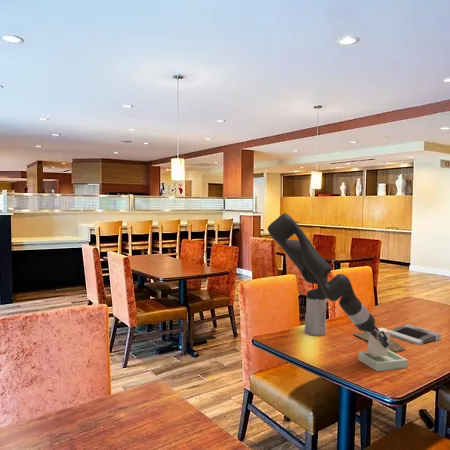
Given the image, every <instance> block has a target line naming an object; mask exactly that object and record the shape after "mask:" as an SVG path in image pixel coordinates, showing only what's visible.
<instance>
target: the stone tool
mask: <svg viewBox="0 0 450 450" xmlns="http://www.w3.org/2000/svg"><path fill="white" fill-rule="evenodd" d="M352 334H353V335H354V336H356V337H357V338H360V339H363V340H364V341H367V342H368V341H369V335H367V334H366V333H365V332H362V333H361V332H353V333H352ZM388 350H390V351H392V352H394V353H399V352H402V351H405V350H406V348H405V347H404V346H402V345H401V344H400V343H398V342H396V341H394V340H393V339H389V346H388Z"/></svg>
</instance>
